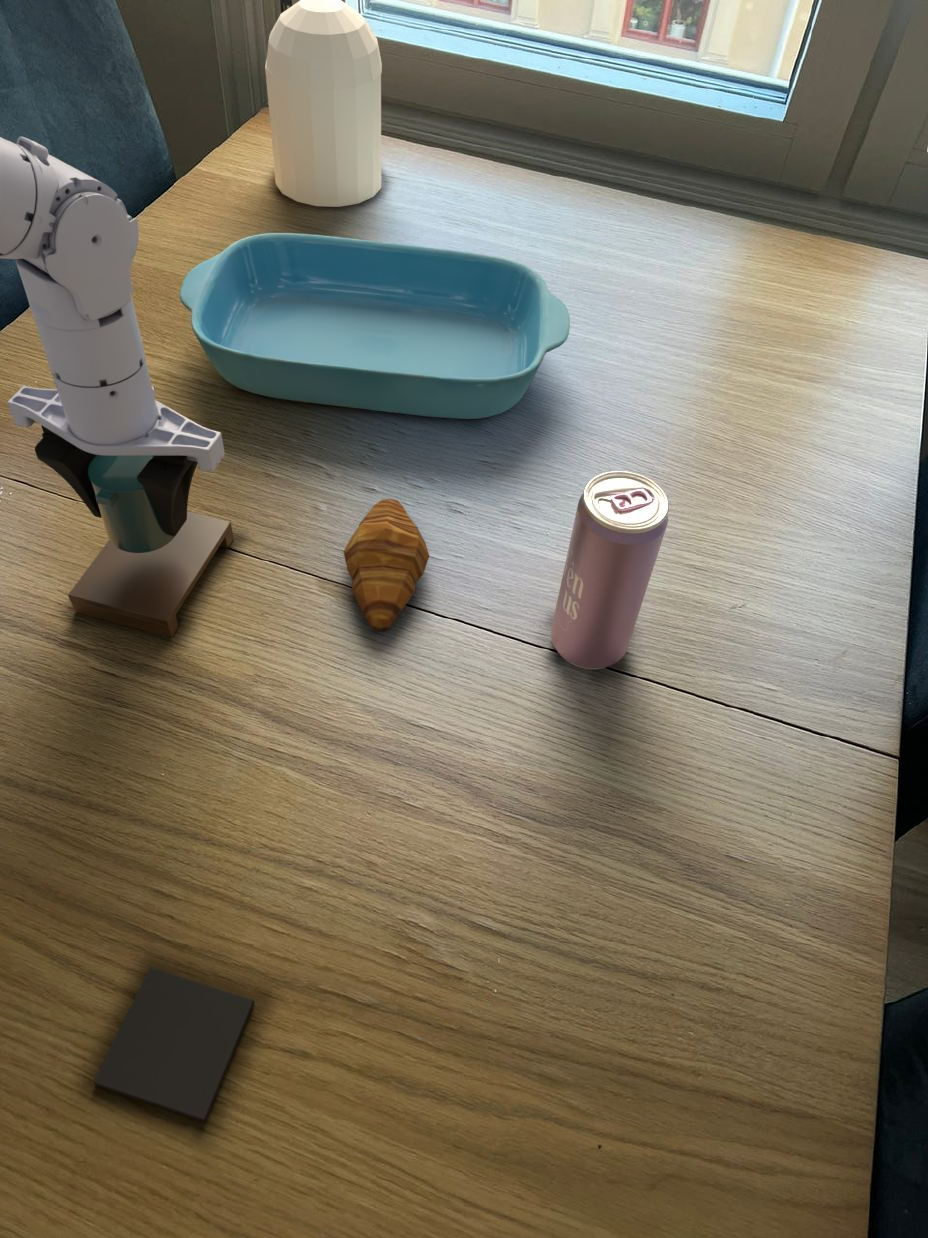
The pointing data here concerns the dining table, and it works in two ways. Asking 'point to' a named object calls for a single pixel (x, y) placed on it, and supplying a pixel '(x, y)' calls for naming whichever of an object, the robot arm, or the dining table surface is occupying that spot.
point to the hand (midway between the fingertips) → (141, 517)
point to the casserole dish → (374, 324)
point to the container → (325, 104)
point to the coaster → (175, 1044)
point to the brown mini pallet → (150, 577)
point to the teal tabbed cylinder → (126, 504)
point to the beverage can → (608, 567)
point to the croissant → (385, 562)
